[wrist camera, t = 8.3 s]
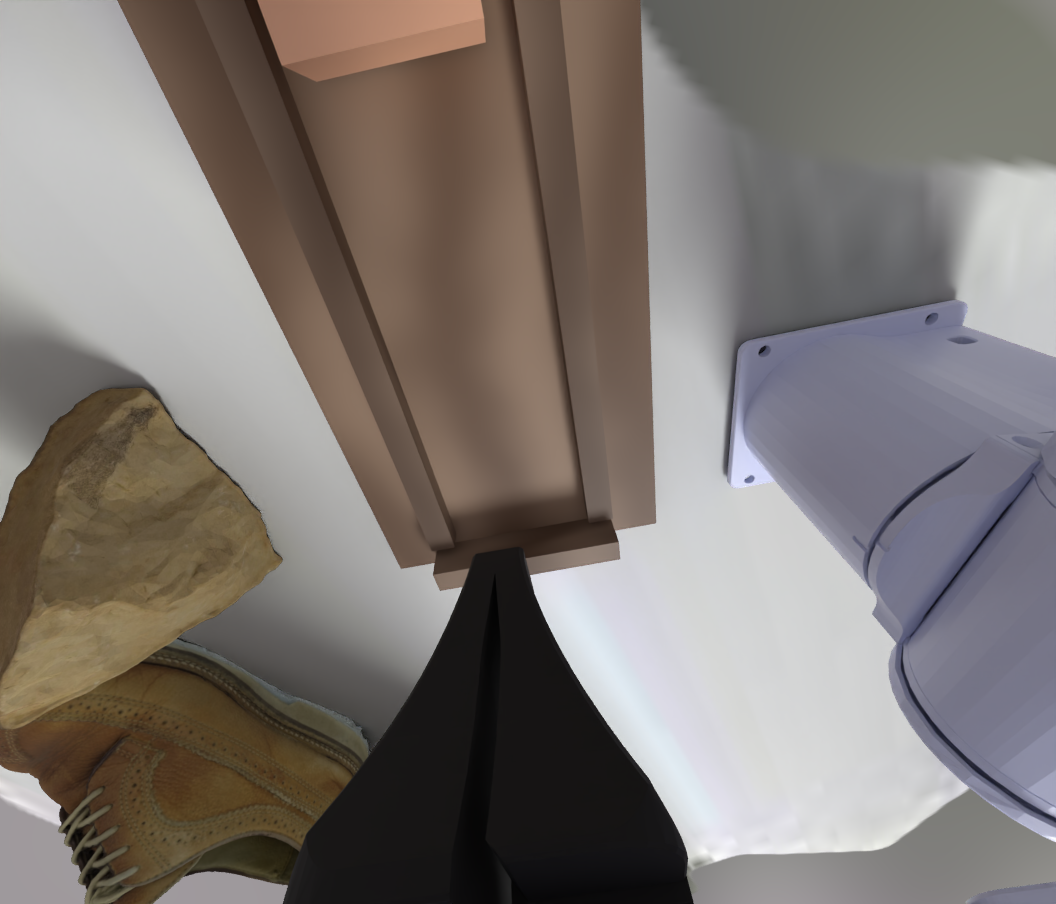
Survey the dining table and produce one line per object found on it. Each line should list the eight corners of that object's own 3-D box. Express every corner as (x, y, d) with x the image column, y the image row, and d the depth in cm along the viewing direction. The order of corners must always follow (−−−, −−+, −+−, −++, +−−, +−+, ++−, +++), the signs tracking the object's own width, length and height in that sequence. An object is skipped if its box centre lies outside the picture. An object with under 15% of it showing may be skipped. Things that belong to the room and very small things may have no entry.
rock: (-50, 361, 15) (-23, 577, 19) (-79, 501, 11) (-36, 754, 14) (284, 385, 24) (258, 533, 27) (353, 471, 19) (310, 637, 22)
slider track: (617, -333, 10) (657, -496, 8) (650, 510, 24) (668, 550, 22) (50, -181, 11) (-85, -285, 8) (404, 555, 25) (394, 598, 22)
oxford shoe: (410, 721, 35) (378, 926, 26) (339, 766, 39) (288, 960, 30) (-22, 558, 23) (-374, 829, 14) (-67, 644, 27) (-369, 906, 18)
